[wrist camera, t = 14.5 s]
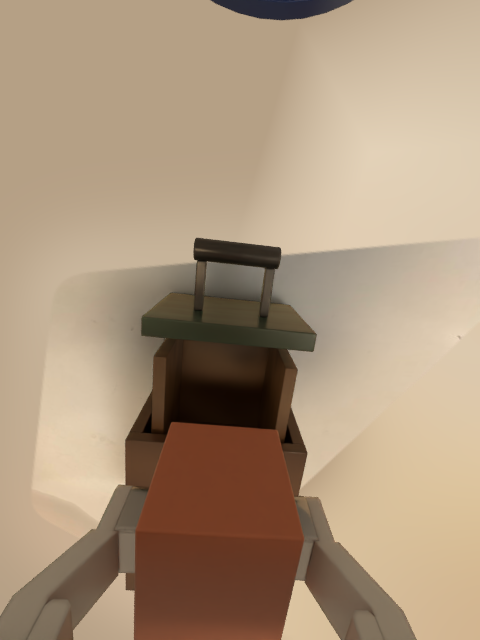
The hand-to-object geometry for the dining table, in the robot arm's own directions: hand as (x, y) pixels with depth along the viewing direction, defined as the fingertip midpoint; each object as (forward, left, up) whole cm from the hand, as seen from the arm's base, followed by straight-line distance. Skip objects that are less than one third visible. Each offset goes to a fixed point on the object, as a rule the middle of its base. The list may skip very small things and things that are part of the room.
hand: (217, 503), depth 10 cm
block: (0, 0, -2) cm, 2 cm away
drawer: (-1, 0, -15) cm, 15 cm away
